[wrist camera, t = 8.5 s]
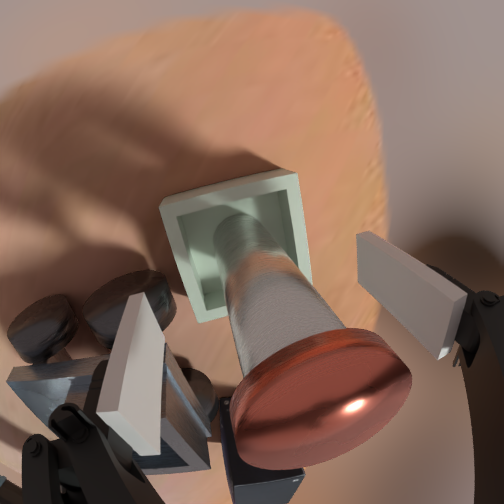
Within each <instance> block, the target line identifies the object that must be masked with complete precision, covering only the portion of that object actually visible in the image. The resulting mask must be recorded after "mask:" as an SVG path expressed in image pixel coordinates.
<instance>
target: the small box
mask: <svg viewBox="0 0 504 504" xmlns="http://www.w3.org/2000/svg"><path fill="white" fill-rule="evenodd" d="M231 398H232V397H228V398H220V400H219V405H220V430H221V443H222V451H223V458H224V464H225V470H226V475H227V481H228V486H229V490H230V494H231V498H232V502H233V504H287V503H289V501H290V499H291V498H292V496H293V495H294V493H295V492H296V490H297V488H298V487H299V485H300V483H301V482H302V480H303V478H304V476H305V471H304V469H303V468H297V469H289V470H268V469H262V468H258V467H254V466H252V465H250V464H248V463H246V462H245V461H243V460H242V458H241V457H240V456H239V454H238V451H237V447H236V442H235V437H234V433H233V428H232V423H231V418H230V411H229V408H230V401H231Z"/></svg>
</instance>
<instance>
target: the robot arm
mask: <svg viewBox="0 0 504 504" xmlns="http://www.w3.org/2000/svg"><path fill="white" fill-rule="evenodd" d="M356 238H357V264H358V283H359V284H360V285H361V286H362V287H364V288H365V289H366V290H367V291H368V292H369V293H370V294H371V295H372V296H373V297H374V298H375V299H376V300H377V301H378V302H379V303H381V304H382V305H383V306H384V307H385V308H386V309H387V310H388V311H389V312H390V313H391V314H392V315H393V316H394V317H395V318H396V319H397V320H398V321H399V322H400V323H401V324H402V325H403V326H404V327H405V328H406V329H407V330H408V331H410V333H411V334H412V335H413V336H414V337H415V338H416V339H417V340H418V341H419V342H420V343H421V344H422V345H423V346H424V347H425V348H426V349H427V350H428V351H429V352H430V353H431V354H432V355H433V356H434V357H435V358H436V359H437V360H439V359H440V358H442V357H444V356H445V355H446V354H448V353H450V352H451V349H452V347H453V344H454V341H456V342H457V343H458V344H460V345H459V348H458V351H457V353H456V356H455V359H454V361H453V367H455V366H456V364H457V361H458V359H460V363H459V366H461V368H462V372H463V377H464V382H465V387H466V392H467V398H468V404H469V410H470V418H471V426H472V435H473V445H474V446H473V447H474V466H475V492H474V493H475V494H474V504H504V296H500V297H499V296H498V295H497V294H495V293H493V292H490V291H480V292H478V293H475V292H474V291H472V290H471V289H469V288H468V287H466V286H465V285H463V284H462V283H460V282H459V281H457V280H456V279H453V277H451V276H450V275H448V274H446V273H445V272H444V271H442V270H441V269H439V268H437V267H434V266H431V265H428V264H427V265H424V264H423V263H421V262H419V261H418V260H417V259H415V258H413V257H412V256H410V255H409V254H407V253H405V252H404V251H402V250H401V249H399V248H397V247H395V246H394V245H392V244H391V243H389V242H387V241H386V240H384V239H382V238H381V237H379V236H377V235H375V234H374V233H372V232H370V231H366V232H363V233H359V234H356ZM164 344H165V337H164V335H163V333H162V331H161V328H160V326H159V324H158V322H157V320H156V318H155V316H154V313H153V311H152V309H151V307H150V305H149V302H148V300H147V298H146V295H145V293H144V292H142V293H138V294H135V295H131V296H129V298H128V301H127V304H126V307H125V310H124V313H123V316H122V319H121V322H120V325H119V328H118V331H117V335H116V338H115V341H114V344H113V348H112V351H111V355H110V358H109V359H108V360H102V361H100V363H99V364H98V366H97V367H96V368H95V370H94V372H93V376H92V379H91V382H90V386H89V391H88V393H87V396H86V400H85V404H84V408H83V411H82V410H81V409H80V408H79V406H78V405H76V404H74V403H64V404H61V405H59V406H58V407H57V408H55V409H54V411H53V412H52V413H51V415H50V417H49V420H48V427H49V428H50V429H51V430H52V431H53V432H54V433H55V434H56V435H57V436H58V437H59V438H60V439H57V440H53V441H49V440H48V439H47V438H46V437H44V436H43V435H41V434H34V435H32V436H30V437H29V438H28V439H27V440H26V441H25V443H24V445H23V450H22V488H21V487H19V486H17V485H15V484H14V483H12V482H10V481H9V480H7V479H6V477H5V476H1V475H0V504H165V503H164V501H163V500H162V499H161V497H160V496H159V495H158V493H157V492H156V490H155V489H154V488H153V486H152V485H151V483H150V482H149V480H148V479H147V477H146V476H145V474H144V473H143V471H142V470H141V468H140V467H139V465H138V463H137V462H136V461H135V460H134V459H133V458H132V449H133V450H134V451H136V452H137V453H138V454H139V455H140V456H148V455H160V420H161V390H162V371H163V356H164Z"/></svg>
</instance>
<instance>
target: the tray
mask: <svg viewBox="0 0 504 504" xmlns="http://www.w3.org/2000/svg"><path fill="white" fill-rule="evenodd" d="M159 210H160V214H161V217H162V220H163V223H164V227H165V230H166V233H167V236H168V239H169V243H170V246H171V249H172V252H173V255H174V258H175V261H176V264H177V267H178V270H179V272H180V275H181V278H182V281H183V284H184V287H185V289H186V292H187V295H188V298H189V300H190V303H191V306H192V308H193V311H194V314H195V316H196V319H197V321H198V323H202V322H206V321H210V320H214V319H218V318H222V317H225V316H228V311H227V307H226V302H225V298H224V293H223V289H222V284H221V280H220V275H219V270H218V266H217V261H216V256H215V251H214V246H213V235H214V232H215V230H216V228H217V226H218V225H219V224H220V222H221V221H223V220H224V219H225V218H227V217H229V216H231V215H235V214H247V215H251V216H253V217H255V218H256V219H258V220H259V221H260V222H261V223H262V225H263V226H264V227H265V228H266V229H267V231H268V232H269V233H270V234H271V235H272V237H273V238H274V239H275V240H276V241H277V243H278V244H279V245H280V246H281V248H282V249H283V250H284V251H285V252H286V254H287V255H288V256H289V257H290V258H291V260H292V261H293V262H294V263H295V265H296V266H297V267H298V268H299V269H300V271H301V272H302V273H303V274H304V276H305V277H306V278H307V279H308V281H309V282H310V283H311V284H312V275H311V267H310V258H309V250H308V242H307V235H306V227H305V220H304V213H303V206H302V200H301V193H300V187H299V181H298V175H297V173H296V172H293V171H289V170H286V169H283V168H280V169H276V170H271V171H266V172H261V173H257V174H252V175H248V176H244V177H239V178H235V179H231V180H227V181H223V182H219V183H215V184H211V185H207V186H203V187H199V188H196V189H192V190H188V191H185V192H181V193H177V194H174V195H170V196H167V197H164V199H163V200H162V202H161V204H160V206H159Z"/></svg>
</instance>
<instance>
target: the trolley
mask: <svg viewBox="0 0 504 504" xmlns="http://www.w3.org/2000/svg"><path fill="white" fill-rule="evenodd" d="M142 292H144V293H145V295H146V298H147V300H148V302H149V305H150V307H151V309H152V311H153V313H154V316H155V318H156V320H157V322H158V324H159V326H160V328H161V331H163V330H164V329H166V328H167V326H168V325H169V324H170V323H171V322H172V320H173V318H174V316H175V314H176V310H177V307H176V303H175V300H174V298H173V295H172V293H171V290H170V288H169V285H168V282H167V280H166V277H165V275H164V274H163V273H161V272H158V271H154V270H144V271H138V272H133V273H130V274H126V275H124V276H121V277H119V278H116V279H114V280H112V281H110V282H109V283H107V284H105V285H104V286H102V287H101V288H99V289H98V290H97V291H96V292H94V293H93V294H92V295H91V296H90V297H89V299H88V300H87V301H86V303H85V305H84V307H83V316H84V318H85V319H86V321H87V323H88V325H89V327H90V328H91V330H92V332H93V333H94V335H95V337H96V339H97V340H98V342H99V343H100V344H101V345H102V346H104V347H106V348H109V349H112V348H113V344H114V341H115V338H116V335H117V331H118V328H119V325H120V322H121V319H122V316H123V313H124V310H125V307H126V304H127V301H128V298H129V296H131V295H135V294H138V293H142ZM78 324H79V323H78V320H77V318H76V316H75V314H74V312H73V311H72V309H71V307H70V305H69V303H68V301H67V299H66V297H65V296H63V295H52V296H49V297H46V298H43V299H41V300H39V301H37V302H35V303H34V304H32V305H31V306H29V307H28V308H26V309H25V310H24V311H23V312H21V313H20V314H19V315H18V316H17V317H16V318H15V319H14V321H13V322H12V323H11V325H10V327H9V329H8V332H7V337H8V339H9V340H10V342H11V343H12V345H13V346H14V348H15V349H16V351H17V352H18V354H19V355H20V357H21V358H22V359H23V360H24V361H25V362H27V363H33V365H30V366H20V367H13V369H12V371H11V373H10V375H9V377H8V379H7V381H6V382H7V384H8V385H9V386H10V387H11V388H12V390H13V391H14V392H15V393H16V394H17V396H18V397H19V398H20V399H21V400H22V401H23V402H24V403H25V405H26V406H27V407H28V408H29V409H30V410H31V411H32V412H33V413H34V414H35V415H36V416H37V417H38V418H39V419H40V420H41V421H42V422H43V423H44V424H45V425H46V426H47V427H48V420H49V417H50V415H51V413H52V412H53V411H54V409H55V408H57V407H58V406H59V405H61V404H64V403H74V404H76V405H78V406H79V408H80V409H81V410H82V411H83V408H84V404H85V400H86V396H87V393H88V391H89V386H90V382H91V379H92V376H93V372H94V370H95V368H96V367H97V366H98V364H99V363H100V361H102V360H108V359H109V358H110V355H111V354H107V355H101V356H95V357H89V358H83V359H76V360H72V359H71V357H70V356H69V354H68V353H67V351H66V350H65V348H64V347H65V346H66V345H67V344H68V343H69V342H70V341H71V340H72V338H73V337H74V335H75V334H76V332H77V329H78ZM218 408H219V400H218V396H217V394H216V392H215V390H214V388H213V386H212V384H211V382H210V380H209V379H208V377H207V376H206V375H205V374H204V373H202V372H200V371H198V370H195V369H190V368H182V369H180V368H179V366H178V364H177V362H176V360H175V358H174V356H173V354H172V352H171V350H170V348H169V346H168V344H167V343H165V344H164V356H163V371H162V390H161V420H160V455H148V456H140V455H139V454H138V453H137V452H136V451H134V450H133V449H132V458H133V459H134V460H135V461H136V462H137V463H138V465H139V467H140V468H141V470H142V471H143V473H144V474H145V475H157V474H172V473H183V472H192V471H200V470H207V469H211V466H210V459H209V452H208V445H207V437H211V436H212V434H211V426H210V423H211V422H212V420H213V419H214V418H215V416H216V414H217V411H218ZM48 428H49V427H48ZM49 429H50V428H49ZM50 430H51V429H50ZM51 431H52V430H51ZM52 432H53V431H52ZM53 433H54V432H53ZM54 434H55V433H54ZM55 435H56V434H55ZM56 436H57V435H56Z"/></svg>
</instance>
